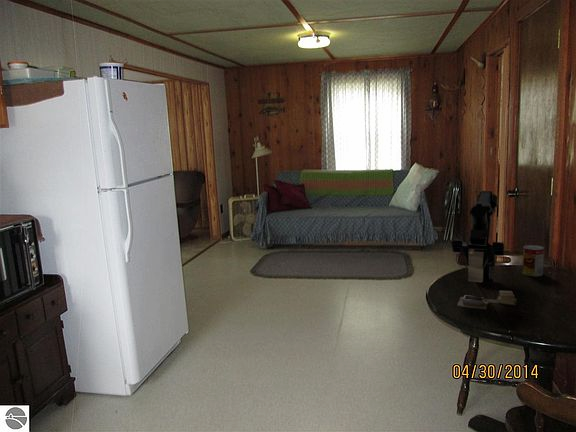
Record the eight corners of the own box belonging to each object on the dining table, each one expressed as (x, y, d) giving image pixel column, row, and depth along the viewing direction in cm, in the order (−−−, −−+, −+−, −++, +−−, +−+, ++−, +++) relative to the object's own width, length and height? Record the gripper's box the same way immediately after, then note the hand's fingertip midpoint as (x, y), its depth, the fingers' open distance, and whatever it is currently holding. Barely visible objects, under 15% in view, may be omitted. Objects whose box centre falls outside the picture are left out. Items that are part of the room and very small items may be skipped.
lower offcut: (499, 297, 178) (499, 293, 178) (514, 298, 175) (514, 295, 175) (498, 302, 173) (498, 298, 172) (513, 304, 170) (513, 300, 170)
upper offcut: (499, 294, 177) (499, 290, 177) (512, 294, 176) (512, 291, 175) (500, 299, 172) (501, 295, 172) (514, 299, 171) (514, 295, 170)
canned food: (529, 269, 211) (530, 244, 208) (546, 273, 204) (547, 247, 202) (518, 273, 207) (519, 247, 204) (536, 277, 200) (537, 250, 198)
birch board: (469, 278, 181) (469, 251, 179) (483, 279, 179) (483, 252, 177) (468, 281, 178) (468, 253, 176) (482, 282, 176) (482, 254, 174)
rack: (462, 294, 185) (462, 288, 184) (516, 300, 176) (516, 294, 175) (456, 307, 172) (457, 301, 172) (514, 314, 163) (514, 307, 163)
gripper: (452, 219, 182) (447, 254, 175) (504, 221, 173) (501, 258, 166) (455, 234, 190) (450, 268, 183) (505, 237, 182) (502, 272, 174)
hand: (475, 266), depth 176 cm, fingers closed on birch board, 5 cm apart
